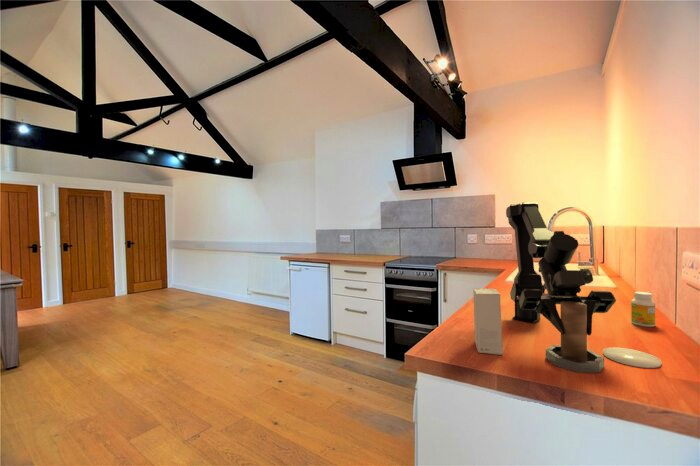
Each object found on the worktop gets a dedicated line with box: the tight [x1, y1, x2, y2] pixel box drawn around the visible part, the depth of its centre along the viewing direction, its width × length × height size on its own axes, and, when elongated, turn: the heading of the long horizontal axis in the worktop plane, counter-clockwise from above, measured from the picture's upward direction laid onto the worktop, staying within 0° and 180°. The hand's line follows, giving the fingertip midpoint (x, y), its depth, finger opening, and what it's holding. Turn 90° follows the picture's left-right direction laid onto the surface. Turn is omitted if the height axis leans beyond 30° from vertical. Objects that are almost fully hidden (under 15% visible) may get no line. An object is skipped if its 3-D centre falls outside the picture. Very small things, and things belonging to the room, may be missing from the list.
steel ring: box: [545, 344, 605, 374], centre depth 70 cm, size 10×10×2 cm
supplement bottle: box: [630, 291, 656, 328], centre depth 96 cm, size 5×5×10 cm
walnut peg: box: [560, 301, 588, 361], centre depth 70 cm, size 5×5×13 cm
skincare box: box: [472, 288, 504, 356], centre depth 79 cm, size 8×6×15 cm
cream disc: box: [602, 346, 662, 369], centre depth 72 cm, size 10×10×1 cm
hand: (576, 333), depth 69 cm, fingers closed on walnut peg, 5 cm apart
